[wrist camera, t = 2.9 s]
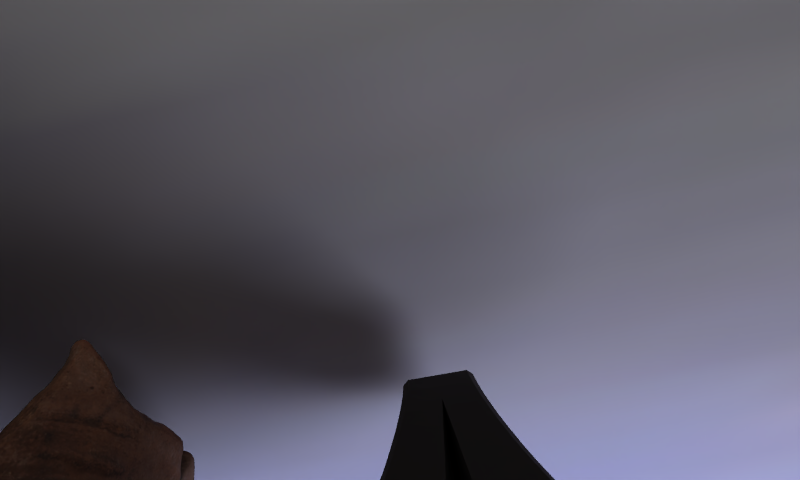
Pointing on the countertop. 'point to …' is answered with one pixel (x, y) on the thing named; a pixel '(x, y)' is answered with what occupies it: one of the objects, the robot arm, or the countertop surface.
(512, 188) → the countertop surface
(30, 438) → the brown jagged ring
